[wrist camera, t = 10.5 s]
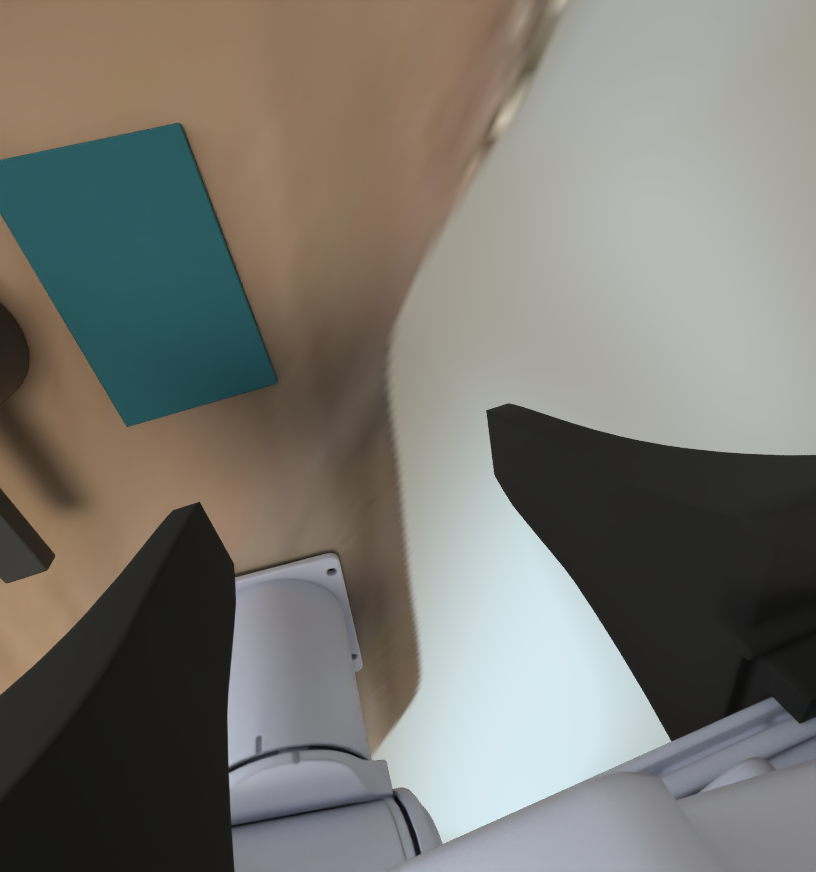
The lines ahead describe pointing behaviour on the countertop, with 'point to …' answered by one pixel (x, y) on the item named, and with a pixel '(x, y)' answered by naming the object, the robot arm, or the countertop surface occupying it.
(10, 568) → the scoop
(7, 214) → the cloth
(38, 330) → the countertop surface
